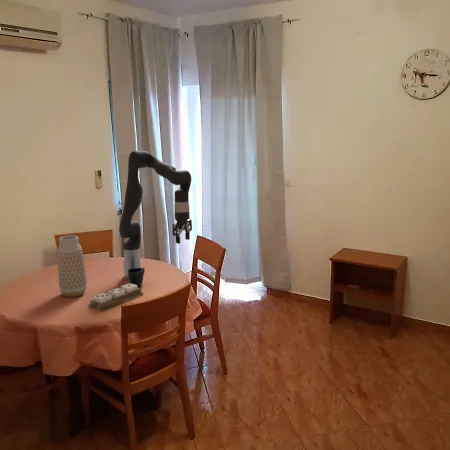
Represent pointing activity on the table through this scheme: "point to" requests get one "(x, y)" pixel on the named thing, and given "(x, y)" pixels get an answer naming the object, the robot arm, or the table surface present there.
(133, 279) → the mug
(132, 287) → the tile one
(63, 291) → the vase
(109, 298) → the tile three
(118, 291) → the tile two
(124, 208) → the robot arm
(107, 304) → the board
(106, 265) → the table surface
